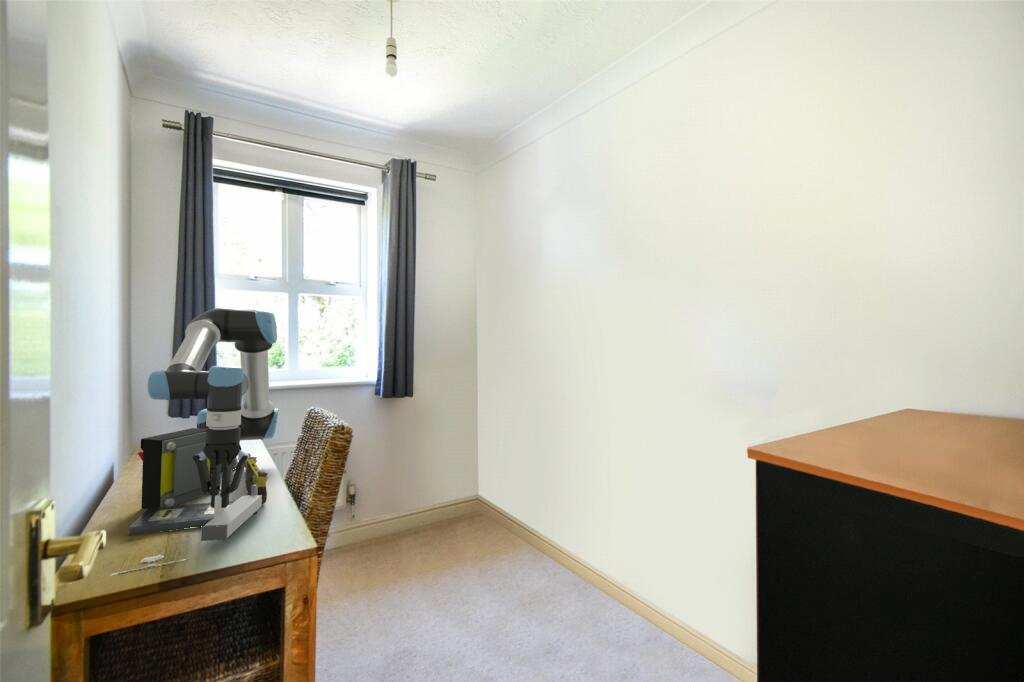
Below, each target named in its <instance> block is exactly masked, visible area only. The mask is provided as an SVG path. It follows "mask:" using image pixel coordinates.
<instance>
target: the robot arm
mask: <svg viewBox="0 0 1024 682" xmlns="http://www.w3.org/2000/svg"><path fill="white" fill-rule="evenodd" d="M184 335H185V337H184V339H183V341H182V342H181V344H180V346H179V347H178V350H177V351H176V353H175V355H174V356H173V358H172V359H171V362H170V363H169V365H168V367H167V369H165V370H164V369H163V370H156V371H152V372H151V373H150V375H149V377H148V380H147V394H148V395H149V398H150V399H152V400H159V401H162V400H163V401H164V400H165V401H171V400H173V401H174V400H178V401H179V400H182V401H183V400H207V401H206V402H207V404H206V405H207V407H206V408H204V409H202V410H200V411H199V412H198V413H197V418H196V423H195V424H196V428H199V429H206V437H205V443H206V445H205V447H204V449H203V451H202V452H201V453H199V454H196V455H194V456H193V460H194V461H195V463H196V464H197V468H198V472H199V477H200V481H201V486H202V490H203V493H207V494H209V495H210V503H211V508H214V518H215V517H216V516H217V515H219V514H220V513H221V512H223V511H224V510H225V508H226V507H227V506H228V505H229V501H230V494H233V493H234V492H236V491H237V490H238V489H239V486H240V484H241V479H242V478H243V477H242V476H243V475H244V471H245V464H246V462H247V461H248V459H249V458H250V457H252V454H251V453H249V452H248V453H246V452H245V451H244V450H242V446H241V443H240V442H241V441H255V440H256V441H257V440H261V441H263V440H268V439H272V438H274V437H275V435H276V428H277V422H278V417H279V416H278V415H279V408H277V407H275V406H274V403H273V402H272V401H270V383H269V380H270V379H269V378H270V377H269V374H270V373H269V350H270V349H272V348H273V345H274V344H275V343H277V340H278V331H277V322H276V317H275V314H274V313H273V311H271V310H269V309H262V308H243V307H241V308H239V307H238V308H237V307H216V308H212V309H210V310H207V311H204V312H202V313H200V314H199V315H197V316H195V317H194V318H193V319H192V320H190V322H189V323H188V324H187V327H186V328H185V333H184ZM222 342H223V343H234V347H235V349H236V350H237V351H238V352H239V354H240V365H212V366H211V367H209V369H208V370H203V367H204V365H205V364H206V362H207V359H208V358H209V355H210V353H211V351H212V348H213V347H214V346H216V345H217V344H218V343H222ZM242 402H243V403H242ZM206 456H207V458H208V459H209V461H210V462H211V478H210V474H209V469H208V465H207V461H206ZM235 468H236V469H235ZM233 469H235V470H233ZM231 470H233V471H234V473H233V476H232V471H231Z"/></svg>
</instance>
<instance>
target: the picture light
mask: <svg viewBox="0 0 1024 682" xmlns="http://www.w3.org/2000/svg"><path fill="white" fill-rule="evenodd" d="M162 558H164V559H165V555H163V554H157V555H154V556H149V557H143V559H141V560H140V563H141V564H143V563H142V562H147V563H148V565H147V566H144V567H139V568H134V569H129V570H125V571H124V570H123V571H119V572H115V573H111V574H110V575H108V577H113V575H114V576H119V575H124V574H128V572H129V573H133V571H134V572H138V571H137V570H139V571H142V570H141V569H143V570H147V569H146V568H148V569H152V568H151V567H153V568H156V567H155V566H158V567H160V566H159V565H163V566H165V565H164V564H167V563H171V562H174V561H175V560H173V561H167V562H165V563H159V564H156V563H153V562H157V561H159V560H158V559H161V560H163V559H162ZM156 560H157V561H156ZM182 560H186V558H183V559H182ZM152 561H153V562H152ZM150 563H152V564H150Z"/></svg>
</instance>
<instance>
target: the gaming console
mask: <svg viewBox="0 0 1024 682" xmlns="http://www.w3.org/2000/svg"><path fill="white" fill-rule="evenodd" d="M257 462H258V460H257V456H251V457H250V458H249V459H248V461H247V462H246V464H245V468H244V471H245V472H244V473H245V474H244V475H245V477H244V478H245V479H244V480H245V481H244V483H245V489H246V491H248V492H247V493H248V496H251V485H255V484H257V485H258V495H262V505H261V507H262V506H263V505H264V504H265V505H266V503H267V499H268V491H267V481H268V479H269V476H268V475H269V473H268V472H265V471H261V469H260V468H259V467H258V465H257Z"/></svg>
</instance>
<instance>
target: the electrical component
mask: <svg viewBox="0 0 1024 682" xmlns="http://www.w3.org/2000/svg"><path fill="white" fill-rule="evenodd" d="M205 437H206V429H199V428H197V427H191V428H187V429H183V430H177V431H172V432H168V433H163V434H158V435H153V436H148V437H143V438H141V439H140V449H141V451H138V452H137V455H138V457H139V458H140V459H141V461H142V477H141V479H142V480H141V510H146V509H148V508H156V507H167V506H178V505H180V504H182V503H186V502H188V501H190V500H193V499H196V498H199V497H201V496H204V495H207V494H208V493H203V490H202V486H201V481H200V477H199V472H198V468H197V464H196V463H195V461H194V460H193V456H194V455H196V454H199V453H201V452H202V451H203V449H204V447H205V445H206V443H205ZM206 461H207V465H208V469H209V474H210V478H211V462H210V461H209V459H208V458H207V456H206Z"/></svg>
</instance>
